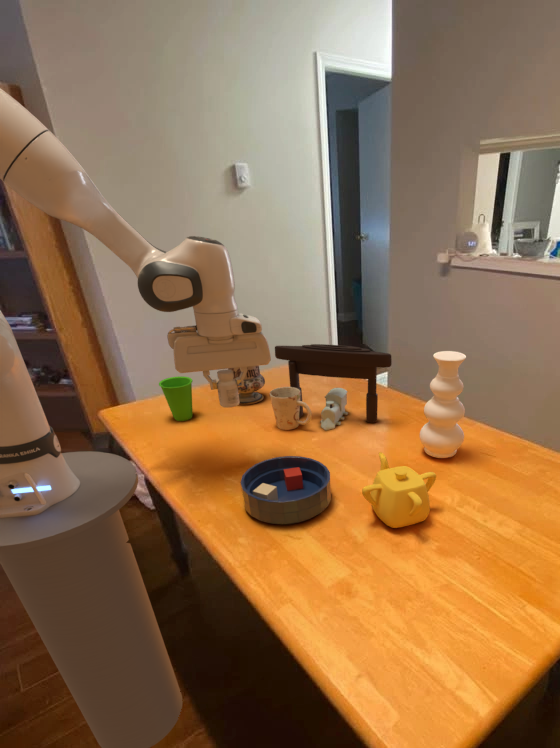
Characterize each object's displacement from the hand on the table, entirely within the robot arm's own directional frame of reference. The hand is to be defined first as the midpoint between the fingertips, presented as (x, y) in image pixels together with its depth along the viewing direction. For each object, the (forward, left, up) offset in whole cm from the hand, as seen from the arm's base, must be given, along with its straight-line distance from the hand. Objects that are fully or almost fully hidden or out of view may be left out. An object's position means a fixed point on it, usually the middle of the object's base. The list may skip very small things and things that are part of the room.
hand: (227, 387), depth 103 cm
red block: (+10, -17, -18) cm, 27 cm away
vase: (+48, -14, -19) cm, 54 cm away
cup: (-12, +32, -19) cm, 39 cm away
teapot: (+27, -34, -19) cm, 47 cm away
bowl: (+7, -22, -19) cm, 30 cm away
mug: (+17, +14, -19) cm, 29 cm away
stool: (+29, +15, -19) cm, 38 cm away
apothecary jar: (+8, +40, -19) cm, 45 cm away
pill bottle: (0, 0, -4) cm, 4 cm away
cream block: (+3, -22, -18) cm, 29 cm away
